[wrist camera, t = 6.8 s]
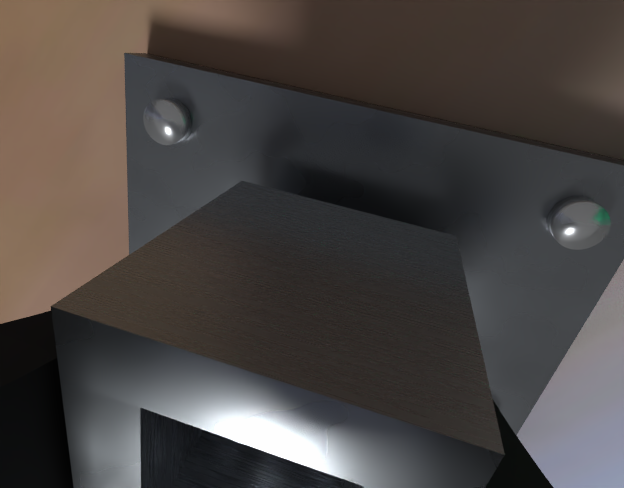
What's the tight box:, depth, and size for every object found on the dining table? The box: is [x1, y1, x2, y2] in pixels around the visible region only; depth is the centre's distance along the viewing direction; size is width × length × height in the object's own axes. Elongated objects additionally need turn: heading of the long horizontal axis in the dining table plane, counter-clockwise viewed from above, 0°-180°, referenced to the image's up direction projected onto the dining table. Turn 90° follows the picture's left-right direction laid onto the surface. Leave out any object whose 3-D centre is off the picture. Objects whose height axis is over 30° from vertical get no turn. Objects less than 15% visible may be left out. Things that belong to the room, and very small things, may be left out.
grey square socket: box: [51, 181, 505, 488], centre depth 8 cm, size 5×5×6 cm
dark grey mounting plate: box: [124, 53, 624, 435], centre depth 11 cm, size 14×10×6 cm
